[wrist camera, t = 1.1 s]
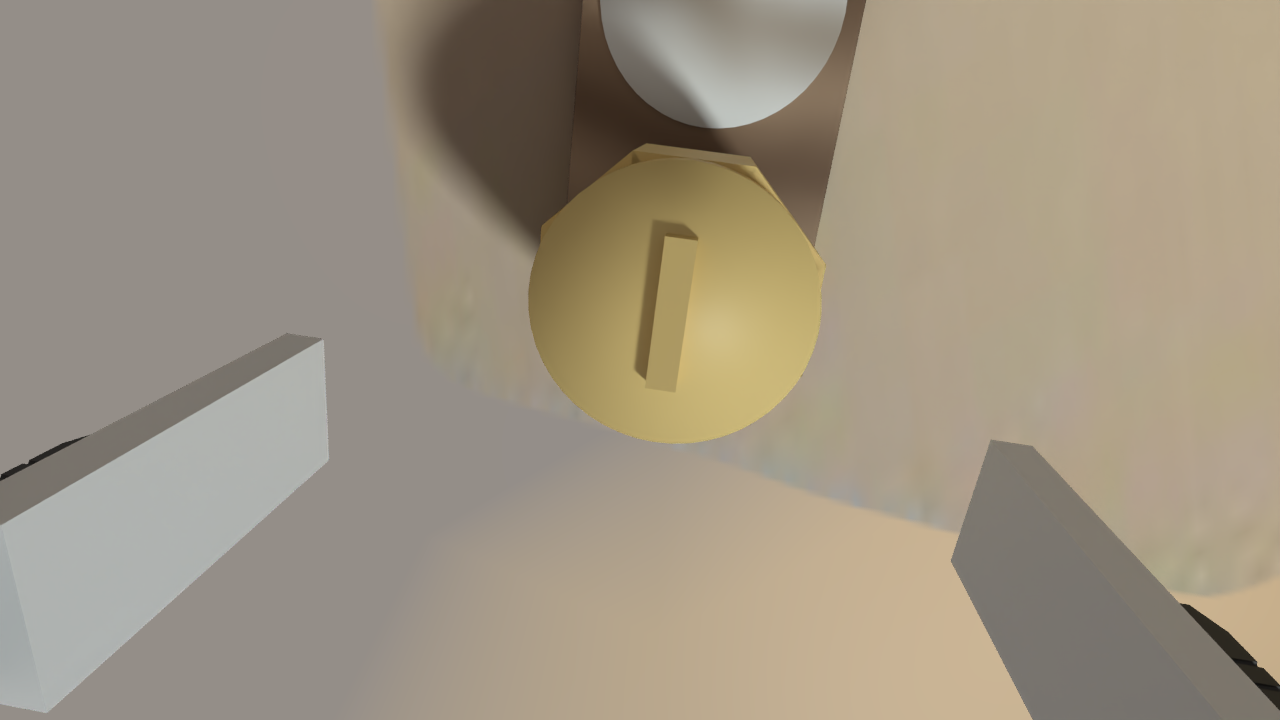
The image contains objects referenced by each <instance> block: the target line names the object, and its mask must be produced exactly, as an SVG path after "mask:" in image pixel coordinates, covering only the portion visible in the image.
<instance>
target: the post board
mask: <svg viewBox="0 0 1280 720" xmlns="http://www.w3.org/2000/svg"><path fill="white" fill-rule="evenodd" d="M865 3H866V0H583V5H582V18H581V30H580V43H579V56H578V68H577V81H576V94H575V106H574V119H573V132H572V144H571V157H570V170H569V182H568V195H567V204H568V203H569V202H570V201H571V200H573V199H574V198H575V197H576V196H577V195H578V194H579V193H580V192H582V191H583V190H584V189H586V188H587V187H589V186H590V185H591V184H593V183H594V182H595V181H596V180H598V179H599V178H600V177H601V176H602V175H604V174H605V173H606V172H607V171H609V170H610V169H611V168H612V167H613V166H615V165H616V164H617V163H618V162H619V161H621V160H622V159H623V158H624V157H626V156H627V155H628V154H629V153H630V152H632V151H633V150H635V149H637V148H639V147H640V146H642V145H644V144H646V143H648V144H656V145H663V146H671V147H679V148H686V149H694V150H702V151H709V152H717V153H725V154H732V155H740V156H748V157H751V158H752V160H753V161H754V163H755V164H756V165H757V167H758V168H759V170H760V171H761V172H762V174H763V175H764V177H765V178H766V180H767V181H768V182H769V184H770V185H771V187H772V188H773V189H774V191H775V192H776V194H777V195H778V196H779V198H780V199H781V201H782V202H783V204H784V205H785V206H786V208H787V209H788V211H789V212H790V213H791V215H792V216H793V218H794V219H795V220H796V222H797V223H798V225H799V226H800V228H801V229H802V230H803V232H804V233H805V235H806V236H807V237H808V239H809V240H810V242H811V243H812V245H813V246H815V241H816V236H817V231H818V227H819V222H820V217H821V212H822V208H823V203H824V198H825V193H826V189H827V184H828V179H829V174H830V170H831V165H832V160H833V155H834V150H835V146H836V141H837V136H838V131H839V127H840V122H841V117H842V112H843V108H844V103H845V98H846V93H847V89H848V84H849V79H850V74H851V70H852V65H853V60H854V55H855V50H856V46H857V41H858V36H859V31H860V27H861V22H862V17H863V12H864V8H865Z"/></svg>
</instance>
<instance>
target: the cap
mask: <svg viewBox="0 0 1280 720" xmlns="http://www.w3.org/2000/svg"><path fill="white" fill-rule="evenodd" d="M825 268H826V264H825V263H824V261H823V260H822V258H821V257H820V255H819V254H818V252H817V251H816V249H815V248H814V246H813V245H812V243H811V242H810V240H809V239H808V237H807V236H806V235H805V233H804V232H803V230H802V229H801V228H800V226H799V225H798V223H797V222H796V220H795V219H794V218H793V216H792V215H791V213H790V212H789V211H788V209H787V208H786V206H785V205H784V204H783V202H782V201H781V199H780V198H779V196H778V195H777V194H776V192H775V191H774V189H773V188H772V187H771V185H770V184H769V182H768V181H767V180H766V178H765V177H764V175H763V174H762V172H761V171H760V170H759V168H758V167H757V165H756V164H755V163H754V161H753V160H752V158H751V157H748V156H740V155H732V154H725V153H717V152H709V151H702V150H694V149H686V148H679V147H671V146H663V145H656V144H648V143H646V144H644V145H642V146H640V147H639V148H637V149H635V150H633V151H632V152H630V153H629V154H628V155H627V156H626V157H624V158H623V159H622V160H621V161H619V162H618V163H617V164H616V165H615V166H613V167H612V168H611V169H610V170H609V171H607V172H606V173H605V174H604V175H602V176H601V177H600V178H599V179H598V180H596V181H595V182H594V183H593V184H591V185H590V186H589V187H587V188H586V189H584V190H583V191H582V192H580V193H579V194H578V195H577V196H576V197H575V198H574V199H573V200H571V201H570V202H569V203H568V204H567V205H566V206H565V207H564V208H562V209H561V210H560V211H559V212H558V213H556V214H555V215H554V216H553V217H551V218H550V219H549V220H548V221H547V222H545V223H544V224H543V225H542V226H541V240H540V246H539V249H538V251H537V254H536V256H535V260H534V264H533V267H532V271H531V276H530V284H529V316H530V323H531V329H532V333H533V336H534V340H535V344H536V347H537V349H538V351H539V354H540V356H541V359H542V361H543V363H544V365H545V366H546V368H547V370H548V372H549V373H550V375H551V377H552V378H553V379H554V381H555V382H556V383H557V385H558V386H559V387H560V389H561V390H562V391H563V392H564V393H565V394H566V395H567V397H568V398H569V399H570V400H571V401H572V402H573V403H574V404H575V405H577V406H578V407H579V408H580V409H581V410H583V411H584V412H585V413H586V414H588V415H589V416H591V417H592V418H594V419H595V420H597V421H598V422H600V423H602V424H603V425H605V426H607V427H609V428H611V429H614V430H616V431H618V432H620V433H623V434H626V435H629V436H632V437H635V438H638V439H643V440H647V441H652V442H661V443H671V444H672V443H694V442H701V441H707V440H711V439H715V438H719V437H723V436H726V435H728V434H731V433H733V432H736V431H738V430H741V429H743V428H744V427H746V426H748V425H750V424H752V423H753V422H755V421H757V420H758V419H760V418H761V417H762V416H764V415H765V414H767V413H768V412H769V411H771V410H772V409H773V408H774V407H775V406H776V405H777V404H778V403H779V402H780V401H782V400H783V399H784V398H785V396H786V395H787V394H788V393H789V392H790V390H791V389H792V388H793V387H794V385H795V384H796V383H797V381H798V380H799V378H800V377H801V376H802V374H803V372H804V370H805V368H806V366H807V364H808V362H809V360H810V357H811V355H812V353H813V350H814V347H815V343H816V340H817V337H818V333H819V326H820V320H821V287H822V282H823V277H824V273H825Z"/></svg>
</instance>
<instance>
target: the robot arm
mask: <svg viewBox="0 0 1280 720" xmlns="http://www.w3.org/2000/svg"><path fill="white" fill-rule="evenodd" d="M328 460H329V450H328V427H327V405H326V383H325V361H324V339H321V338H315V337H308V336H301V335H295V334H288V333H287V334H285V335H283V336H281V337H279V338H277V339H275V340H273V341H271V342H269V343H267V344H265V345H263V346H261V347H259V348H257V349H256V350H254V351H252V352H250V353H248V354H246V355H244V356H242V357H240V358H238V359H236V360H234V361H233V362H230V363H229V364H227V365H225V366H223V367H221V368H219V369H217V370H215V371H213V372H211V373H209V374H207V375H205V376H203V377H201V378H200V379H197V380H196V381H194V382H192V383H190V384H188V385H186V386H184V387H182V388H180V389H178V390H176V391H174V392H172V393H170V394H168V395H166V396H164V397H163V398H161V399H159V400H157V401H155V402H153V403H151V404H149V405H147V406H145V407H143V408H141V409H139V410H137V411H136V412H133V413H132V414H130V415H128V416H126V417H124V418H122V419H120V420H118V421H116V422H114V423H112V424H110V425H109V426H106V427H104V428H102V429H101V430H99V431H97V432H95V433H93V434H91V435H88V436H85V437H81V438H79V439H75V440H72V441H69V442H65V443H62V444H60V445H59V446H56V447H54V448H52V449H50V450H49V451H46V452H44V453H43V454H41V455H39V456H37V457H35V458H33V459H31V460H29V463H28V464H21V465H19V466H17V467H15V468H13V469H11V470H9V471H7V472H5V473H3V474H1V478H0V704H2V705H8V706H13V707H19V708H24V709H29V710H34V711H40V712H45V713H48V712H49V711H50V710H51V709H52V708H53V707H54V706H55V705H56V704H58V702H60V701H61V700H62V699H63V698H64V697H65V696H66V695H67V694H68V693H70V692H71V691H72V690H73V689H74V688H75V687H76V686H78V685H79V684H80V683H81V682H82V681H83V680H84V679H85V678H86V677H88V676H89V675H90V674H91V673H92V672H93V671H94V670H95V669H97V668H98V667H99V666H100V665H101V664H102V663H103V662H104V661H105V660H106V659H108V658H109V657H110V656H111V655H112V654H113V653H114V652H116V651H117V650H118V649H119V648H120V647H121V646H122V645H123V644H124V643H126V642H127V641H128V640H129V639H130V638H131V637H132V636H133V635H134V634H135V633H137V632H138V631H139V630H140V629H141V628H142V627H143V626H144V625H146V624H147V623H148V622H149V621H150V620H151V619H152V618H153V617H155V616H156V615H157V614H158V613H159V612H160V611H161V610H162V609H163V608H165V607H166V606H167V605H168V604H169V603H170V602H171V601H172V600H173V599H175V598H176V597H177V596H178V595H179V594H180V593H181V592H182V591H184V590H185V589H186V588H187V587H188V586H189V585H190V584H191V583H192V582H194V581H195V580H196V579H197V578H198V577H199V576H200V575H201V574H202V573H204V572H205V571H206V570H207V569H208V568H209V567H210V566H211V565H212V564H214V563H215V562H216V561H217V560H218V559H219V558H220V557H221V556H223V555H224V554H225V553H226V552H227V551H228V550H229V549H230V548H231V547H233V546H234V545H235V544H236V543H237V542H238V541H239V540H240V539H241V538H243V537H244V536H245V535H246V534H247V533H248V532H249V531H250V530H251V529H253V528H254V527H255V526H256V525H257V524H258V523H259V522H260V521H261V520H263V519H264V518H265V517H266V516H267V515H268V514H269V513H270V512H272V511H273V510H274V509H275V508H276V507H277V506H278V505H279V504H280V503H282V502H283V501H284V500H285V499H286V498H287V497H288V496H289V495H291V494H292V493H293V492H294V491H295V490H296V489H297V488H298V487H299V486H300V485H302V484H303V483H304V482H305V481H306V480H307V479H308V478H309V477H310V476H312V475H313V474H314V473H315V472H316V471H317V470H318V469H319V468H321V467H322V466H323V465H324V464H325V463H326V462H327V461H328ZM951 562H952V564H953V566H954V568H955V570H956V572H957V574H958V575H959V577H960V579H961V581H962V583H963V585H964V587H965V589H966V591H967V593H968V595H969V597H970V599H971V601H972V603H973V605H974V607H975V609H976V610H977V612H978V614H979V616H980V618H981V620H982V622H983V624H984V626H985V628H986V630H987V632H988V634H989V636H990V638H991V639H992V642H993V643H994V645H995V647H996V649H997V651H998V653H999V655H1000V657H1001V659H1002V661H1003V663H1004V665H1005V667H1006V669H1007V671H1008V672H1009V674H1010V676H1011V678H1012V680H1013V682H1014V684H1015V686H1016V688H1017V690H1018V692H1019V694H1020V696H1021V698H1022V700H1023V702H1024V704H1025V706H1026V707H1027V709H1028V711H1029V713H1030V715H1031V717H1032V719H1033V720H1280V685H1279V684H1278V683H1277V682H1276V681H1275V680H1274V679H1273V678H1272V677H1271V676H1270V674H1269V673H1268V672H1266V670H1265V669H1264V668H1260V667H1258V666H1257V661H1256V660H1255V659H1254V658H1253V657H1252V656H1251V655H1250V654H1249V653H1248V652H1247V651H1246V650H1245V649H1244V648H1243V647H1242V646H1241V645H1240V644H1239V643H1238V642H1237V641H1236V640H1235V639H1234V638H1233V637H1232V636H1231V635H1230V634H1229V632H1227V631H1226V630H1224V629H1223V628H1221V627H1220V626H1219V625H1217V624H1216V623H1214V622H1213V621H1211V620H1210V619H1209V618H1207V617H1206V616H1204V615H1203V614H1201V613H1200V612H1198V611H1197V610H1196V609H1194V608H1193V607H1191V606H1190V605H1187V604H1181V603H1179V602H1178V601H1177V600H1176V599H1175V598H1174V597H1173V596H1172V595H1171V594H1170V593H1169V592H1168V591H1167V590H1166V589H1165V587H1164V586H1163V585H1162V584H1161V583H1160V582H1159V581H1158V580H1157V579H1156V578H1155V577H1154V576H1153V575H1152V574H1151V572H1150V571H1149V570H1148V569H1147V568H1146V567H1145V566H1144V565H1143V564H1142V563H1141V562H1140V561H1139V560H1138V559H1137V557H1136V556H1135V555H1134V554H1133V553H1132V552H1131V551H1130V550H1129V549H1128V548H1127V547H1126V546H1125V545H1124V544H1123V543H1122V541H1121V540H1120V539H1119V538H1118V537H1117V536H1116V535H1115V534H1114V533H1113V532H1112V531H1111V530H1110V529H1109V528H1108V526H1107V525H1106V524H1105V523H1104V522H1103V521H1102V520H1101V519H1100V518H1099V517H1098V516H1097V515H1096V514H1095V513H1094V511H1093V510H1092V509H1091V508H1090V507H1089V506H1088V505H1087V504H1086V503H1085V502H1084V501H1083V500H1082V499H1081V498H1080V497H1079V495H1078V494H1077V493H1076V492H1075V491H1074V490H1073V489H1072V488H1071V487H1070V486H1069V485H1068V484H1067V483H1066V482H1065V480H1064V479H1063V478H1062V477H1061V476H1060V475H1059V474H1058V473H1057V472H1056V471H1055V470H1054V469H1053V468H1052V467H1051V465H1050V464H1049V463H1048V462H1047V461H1046V460H1045V459H1044V458H1043V457H1042V456H1041V455H1040V454H1039V453H1038V452H1037V451H1036V449H1035V448H1034V447H1033V446H1029V445H1022V444H1016V443H1009V442H1002V441H996V440H991V441H990V444H989V447H988V450H987V453H986V456H985V459H984V462H983V465H982V468H981V471H980V474H979V477H978V480H977V483H976V486H975V489H974V492H973V495H972V498H971V501H970V504H969V507H968V510H967V513H966V516H965V519H964V522H963V525H962V528H961V531H960V535H959V538H958V541H957V544H956V547H955V550H954V553H953V556H952V559H951Z"/></svg>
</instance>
